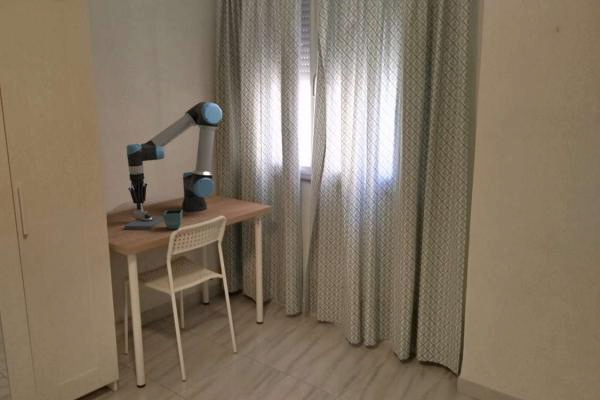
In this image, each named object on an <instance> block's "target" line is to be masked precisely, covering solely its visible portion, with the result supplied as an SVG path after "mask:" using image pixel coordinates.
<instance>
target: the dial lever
mask: <svg viewBox="0 0 600 400" xmlns="http://www.w3.org/2000/svg"><path fill="white" fill-rule="evenodd" d="M152 216H153V215H151V213H149V212H148V211H144V210H143V211H138V210H137V209H136V210H133V219H135V218H137V219H142V221H151V220H153V217H152Z"/></svg>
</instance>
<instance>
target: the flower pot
mask: <svg viewBox="0 0 600 400" xmlns="http://www.w3.org/2000/svg"><path fill="white" fill-rule="evenodd" d="M163 220H164V224H165V225H166V228H167V229H168V230H178V229H177V228H180V227H181V225H182V221H183V210H182V209H173V210H172V209H166V210H165V212H163Z"/></svg>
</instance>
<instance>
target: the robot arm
mask: <svg viewBox="0 0 600 400" xmlns="http://www.w3.org/2000/svg"><path fill="white" fill-rule="evenodd" d="M222 118H223V110H222V109H221V107H220V106H219V105H218V104H216V103H214V102H211V101H210V102H206V101H201V102H198V103H196V104H195V105H193V106H192V107H190V108H189V109H188V110H187V111H185V112H184V115H183V116H181V117H180V118H179V119H177V120H176V121H174V122H173V123H171V125H168V126H167V127H166V128H164V129H163V130H162V131H160V132H159V133H158V134H157V135H155V136H154V137H152V138H150V140H148V141H147V142H144V143H141V144H140V143H131V144H127V145H126V156H127V165H128V172H129V174H128V176H129V180H130V187H128V188H127V189H128V191H129V193H130V196H131V199H132V202H133V204H136V208H137V209H136V211H144V203H145V201H146V198H147V186H148V183H145V181H144V180H145V174H144V163H143V162H149V161H150V162H151V161H159V160H163V159H164V158H165V154H166V153H165V146H167V145H168V144H170V143H171V142H172V141H173V140H175V139H177V138H178V137H179V136H180V135H182V134H184V133H185V132H186V131H187V130H189V129H190V128H191V127H196V126H198V128H199V133H198V143H197V153H196V162H195V163H196V164H195V170H193V171H186V172H183V173H182V181H183V183H182V185H183V186H182V187H183V200H182V202H181V203H182V204H181V210H183V211H184V212H202V211H205V210H207V209H208V204H207V201H206V199H205V198H207V197H209V196H211V195H212V194H213V193H214V190H215V182H214V180H213V178H214V177H213V176H214V175H213V173H212V172H211V170H212V161H213V151H214V142H215V132H216V130H217V129H218V128H219V123H220V122H221V120H222Z"/></svg>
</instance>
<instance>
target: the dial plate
mask: <svg viewBox="0 0 600 400" xmlns="http://www.w3.org/2000/svg"><path fill="white" fill-rule="evenodd" d="M151 216H152V217H153V220H151V221H142V219H137V218H133V219H132V220H131V221H130V222H128V223H126V224H125V225H124V230H127V231H130V230H132V231H133V230H134V231H135V230H136V231H140V230H141V231H152V230H153V229H154V228H156V227H157V226H158V225H159V224H161V223H162V222H163V220H164V215H163V216H157V215H156V216H155V215H151Z"/></svg>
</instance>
